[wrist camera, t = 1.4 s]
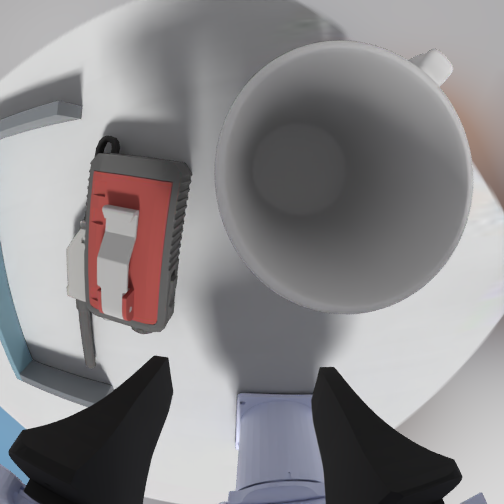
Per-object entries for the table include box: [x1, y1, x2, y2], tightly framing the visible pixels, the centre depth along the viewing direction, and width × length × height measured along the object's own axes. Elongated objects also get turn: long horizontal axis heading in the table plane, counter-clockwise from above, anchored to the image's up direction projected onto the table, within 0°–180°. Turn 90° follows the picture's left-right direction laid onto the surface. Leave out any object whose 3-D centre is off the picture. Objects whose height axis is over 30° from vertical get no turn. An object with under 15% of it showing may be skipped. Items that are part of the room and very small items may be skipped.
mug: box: [215, 40, 473, 314], centre depth 11 cm, size 10×7×12 cm, turn 141°
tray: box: [0, 101, 114, 407], centre depth 18 cm, size 26×12×3 cm, turn 177°
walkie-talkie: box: [67, 136, 192, 369], centre depth 18 cm, size 9×4×20 cm
